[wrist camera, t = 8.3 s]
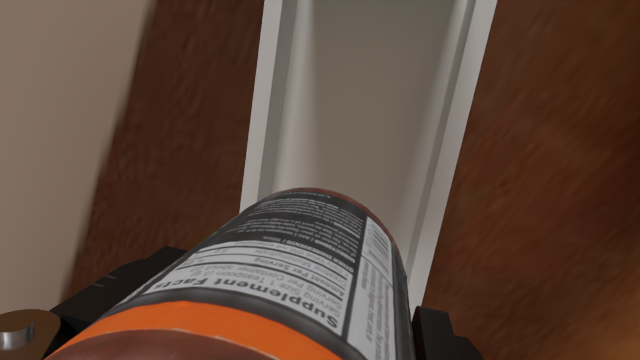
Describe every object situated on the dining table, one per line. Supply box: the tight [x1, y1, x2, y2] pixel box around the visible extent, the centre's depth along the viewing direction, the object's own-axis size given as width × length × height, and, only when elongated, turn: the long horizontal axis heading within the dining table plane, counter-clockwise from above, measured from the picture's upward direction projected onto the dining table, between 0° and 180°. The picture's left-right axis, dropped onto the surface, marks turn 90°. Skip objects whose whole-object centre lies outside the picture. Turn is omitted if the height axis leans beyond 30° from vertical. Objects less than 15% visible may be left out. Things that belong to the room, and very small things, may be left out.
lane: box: [239, 0, 497, 321], centre depth 17 cm, size 22×10×6 cm, turn 170°
